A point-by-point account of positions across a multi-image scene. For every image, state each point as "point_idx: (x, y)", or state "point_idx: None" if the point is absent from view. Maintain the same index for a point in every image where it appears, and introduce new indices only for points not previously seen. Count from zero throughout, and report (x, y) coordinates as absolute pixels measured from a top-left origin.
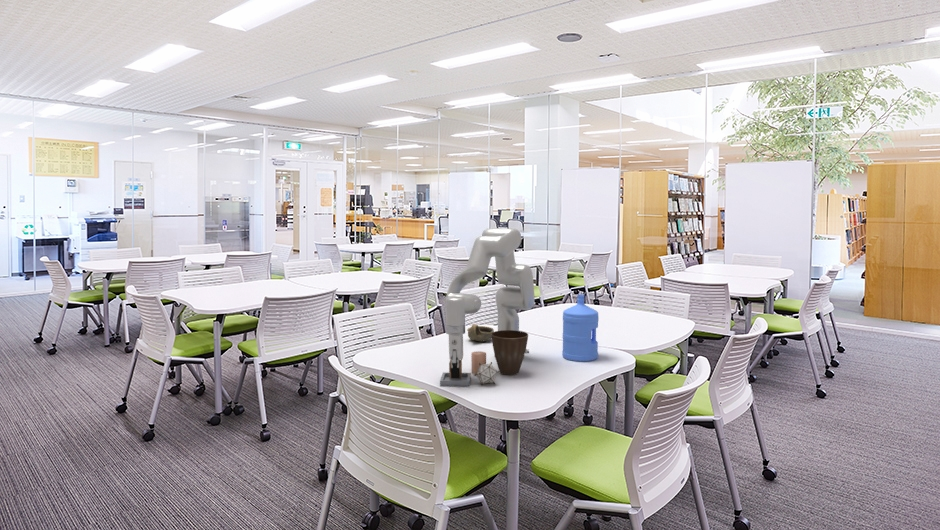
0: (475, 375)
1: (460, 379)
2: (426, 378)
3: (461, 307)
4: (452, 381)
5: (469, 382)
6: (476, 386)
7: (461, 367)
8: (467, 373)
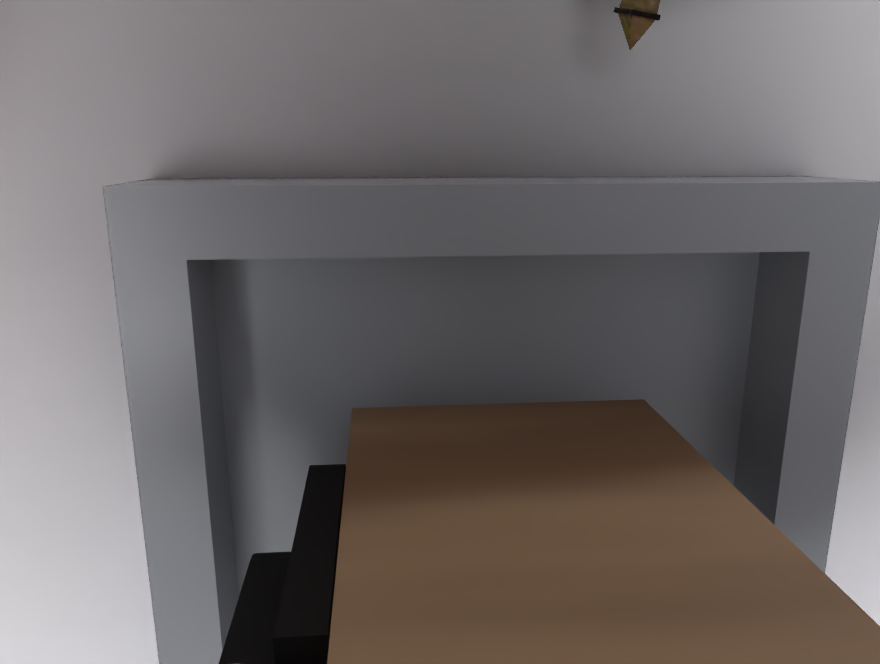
0: (654, 3)
1: (432, 403)
2: None
3: None
4: (821, 559)
5: (766, 179)
6: (822, 8)
7: (507, 526)
8: (190, 273)
